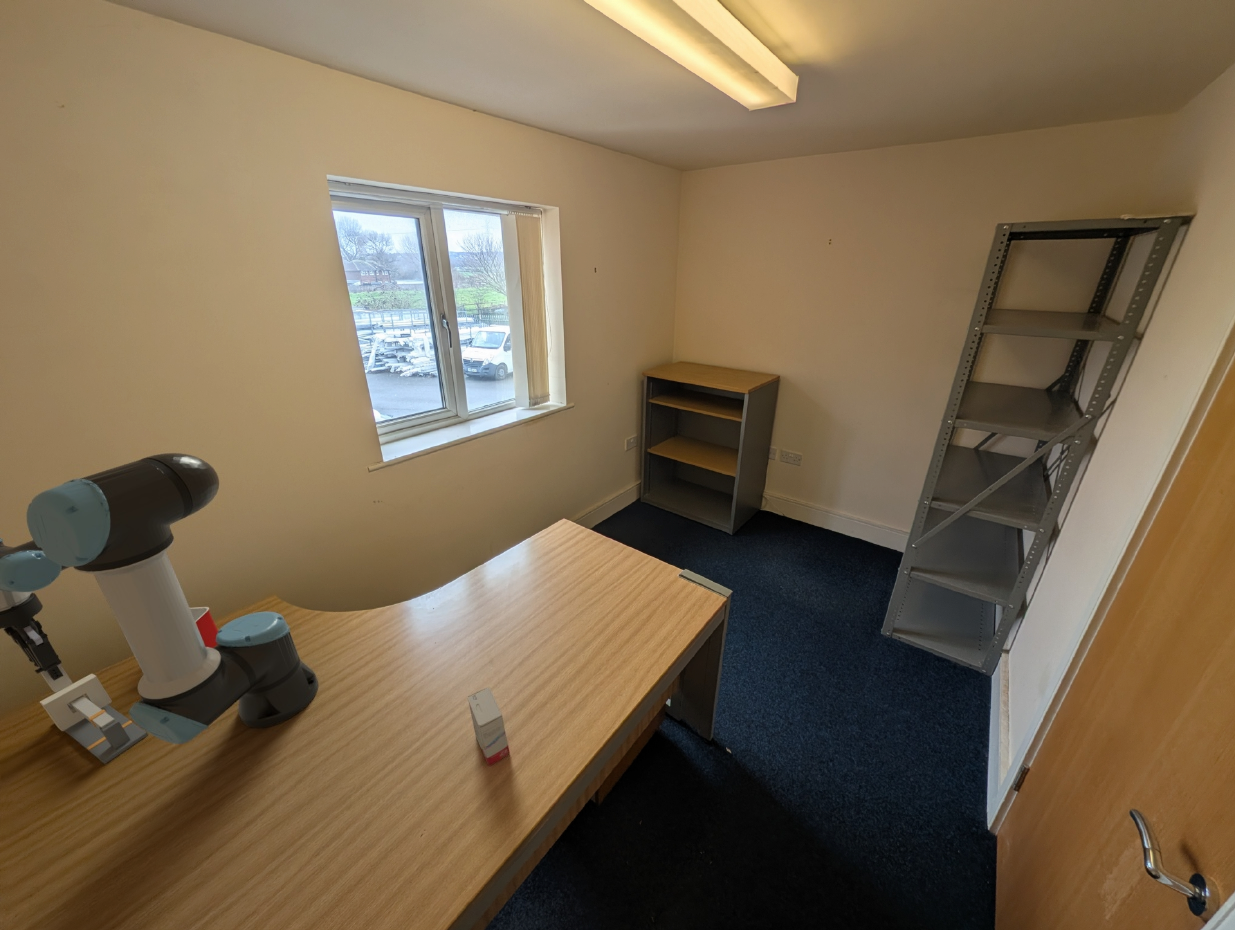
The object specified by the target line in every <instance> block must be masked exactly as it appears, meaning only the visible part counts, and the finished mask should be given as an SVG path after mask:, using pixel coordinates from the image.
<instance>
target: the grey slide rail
mask: <svg viewBox="0 0 1235 930" xmlns="http://www.w3.org/2000/svg"><path fill="white" fill-rule="evenodd" d="M67 705H68V707H69V708H70V710H71V709H74V710H76V711H77V712H78V713H80V714H81V715H82V716H84V717H85V718H84V719H82V720H81V721H79V722H77V723H76V724H74V725H72V726H71V727H69V728H67V729H66V730H64V731H63V732H65V734H66V733H67V734H68V735H69V736H70V737H71V738H72V739H73V740H75V741H76V742H77V743H78V744H80V746H82V747H83V748H85V749H86V750H87V752H89V753H90V754H92V755H93V756H94V757H96V759H98V760H99V761H100V762H101V763H103V764H104V765H106V764H107V763H109V762H110V761H112V760H114V759H115V758H116V757H118V756H119V755H121V754H122V753H124V752H126V751H127V750H128V749H129V748H131V747H132V746H135V744H137V743H138V742H140V741H142V739H144V738H146V737H147V736H149V733H148V732H147V731H145V730H144V729H142V728H141V727H140V726H139V725H138V724H136V723H135V722H134V721H132V720H130V719H129V718H128V717H126V716H124V714H122V713H121V712H119V711H117V710H116V709H115V708H114V707H112V706H111V705H110V704H108V705H106V706H104V707H102V708H101V709H100V708H99V707H98V706H96V705H95V704H93V703H92V702H91V701H89V700H88V699H87V697H86V696H85V695H82V696H80V697H78V698H76V699H75V700H73V701H71V702H69V703H68V704H67Z"/></svg>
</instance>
